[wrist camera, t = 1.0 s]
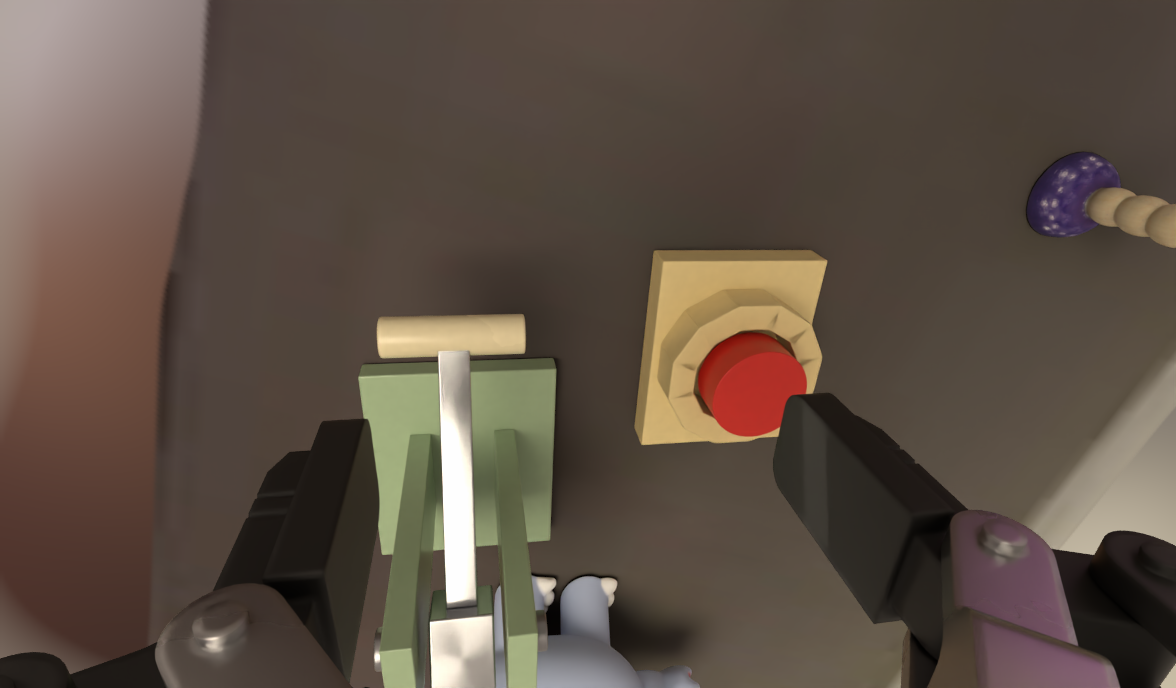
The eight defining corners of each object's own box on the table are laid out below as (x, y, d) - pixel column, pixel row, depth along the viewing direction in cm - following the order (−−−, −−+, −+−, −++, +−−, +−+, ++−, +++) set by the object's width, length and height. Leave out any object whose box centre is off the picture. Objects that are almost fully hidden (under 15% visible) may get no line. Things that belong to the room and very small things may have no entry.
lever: (384, 317, 22) (373, 316, 20) (521, 314, 23) (526, 313, 21) (397, 667, 23) (388, 707, 20) (530, 651, 24) (536, 687, 21)
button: (705, 333, 27) (721, 353, 25) (796, 330, 28) (817, 350, 26) (691, 415, 29) (705, 439, 27) (777, 411, 30) (795, 434, 28)
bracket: (361, 363, 28) (292, 583, 17) (553, 357, 30) (605, 554, 19) (384, 539, 33) (342, 798, 22) (547, 525, 35) (585, 760, 24)
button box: (653, 249, 28) (677, 277, 25) (811, 249, 30) (851, 275, 26) (633, 427, 33) (651, 470, 30) (771, 419, 34) (802, 459, 31)
